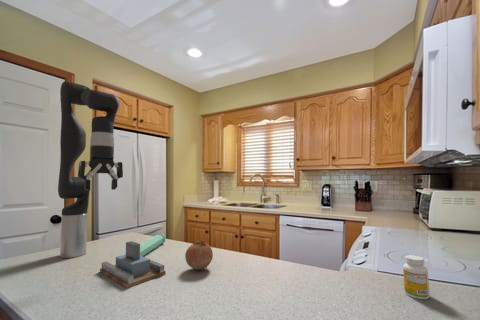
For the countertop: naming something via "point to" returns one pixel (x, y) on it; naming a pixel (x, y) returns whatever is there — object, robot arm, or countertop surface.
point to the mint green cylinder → (151, 244)
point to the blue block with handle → (133, 260)
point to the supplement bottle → (416, 278)
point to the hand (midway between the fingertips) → (101, 190)
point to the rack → (129, 279)
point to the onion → (199, 255)
